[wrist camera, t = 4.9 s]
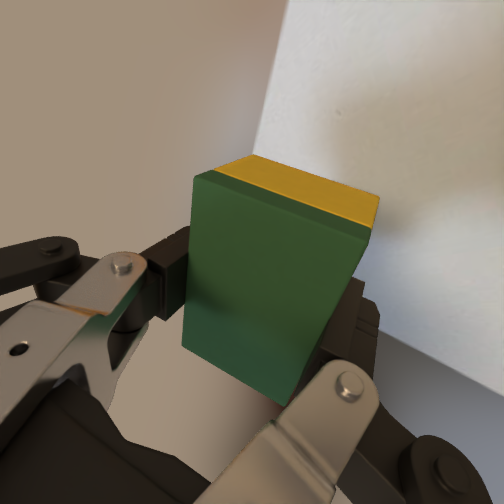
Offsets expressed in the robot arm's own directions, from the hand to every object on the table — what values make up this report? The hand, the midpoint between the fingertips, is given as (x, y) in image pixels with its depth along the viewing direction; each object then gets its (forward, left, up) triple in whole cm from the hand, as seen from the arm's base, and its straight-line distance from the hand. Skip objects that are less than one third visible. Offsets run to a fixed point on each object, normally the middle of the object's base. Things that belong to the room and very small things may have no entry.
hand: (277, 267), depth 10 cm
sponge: (0, 0, -1) cm, 1 cm away
